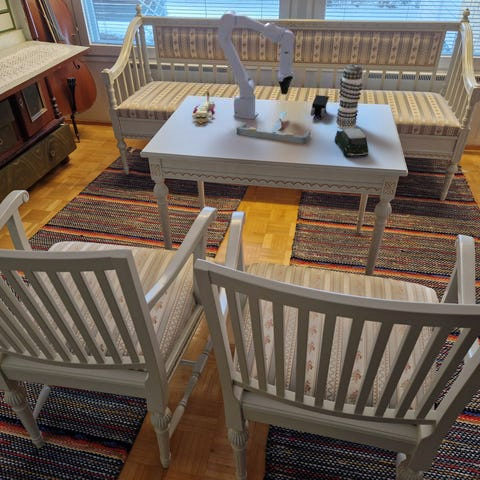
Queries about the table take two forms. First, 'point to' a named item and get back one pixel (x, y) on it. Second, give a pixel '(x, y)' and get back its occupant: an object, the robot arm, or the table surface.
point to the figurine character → (319, 106)
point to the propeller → (279, 122)
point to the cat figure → (204, 111)
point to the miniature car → (352, 142)
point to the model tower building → (349, 96)
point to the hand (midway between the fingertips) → (284, 93)
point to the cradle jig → (272, 134)
